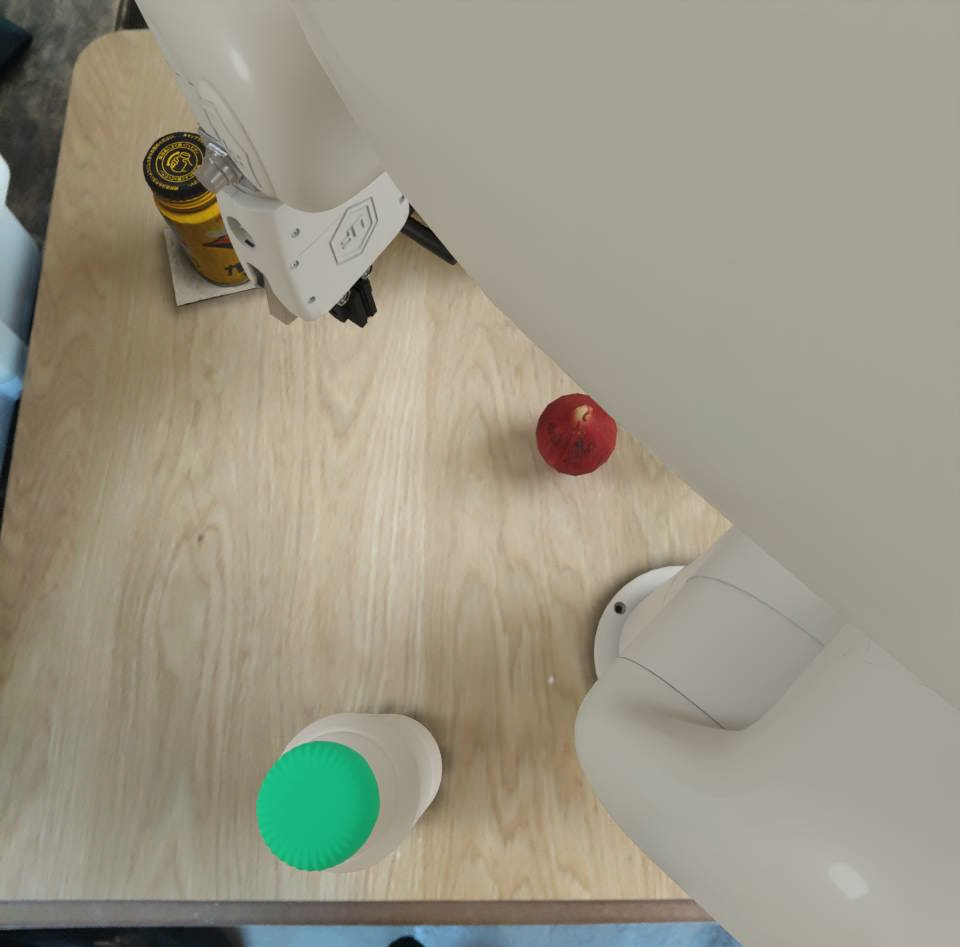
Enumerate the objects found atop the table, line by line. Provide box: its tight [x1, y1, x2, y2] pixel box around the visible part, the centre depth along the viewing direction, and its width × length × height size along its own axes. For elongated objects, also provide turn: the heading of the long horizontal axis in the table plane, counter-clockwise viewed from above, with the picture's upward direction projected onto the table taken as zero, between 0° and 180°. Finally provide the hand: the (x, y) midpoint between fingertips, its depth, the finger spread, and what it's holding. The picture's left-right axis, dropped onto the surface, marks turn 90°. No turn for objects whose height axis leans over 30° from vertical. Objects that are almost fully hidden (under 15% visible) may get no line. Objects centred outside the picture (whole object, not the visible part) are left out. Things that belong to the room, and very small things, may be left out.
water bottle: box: [255, 712, 443, 874], centre depth 43 cm, size 7×7×25 cm
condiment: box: [142, 131, 257, 307], centre depth 61 cm, size 7×8×12 cm
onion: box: [535, 392, 618, 477], centre depth 57 cm, size 6×6×8 cm
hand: (353, 309), depth 56 cm, fingers closed
